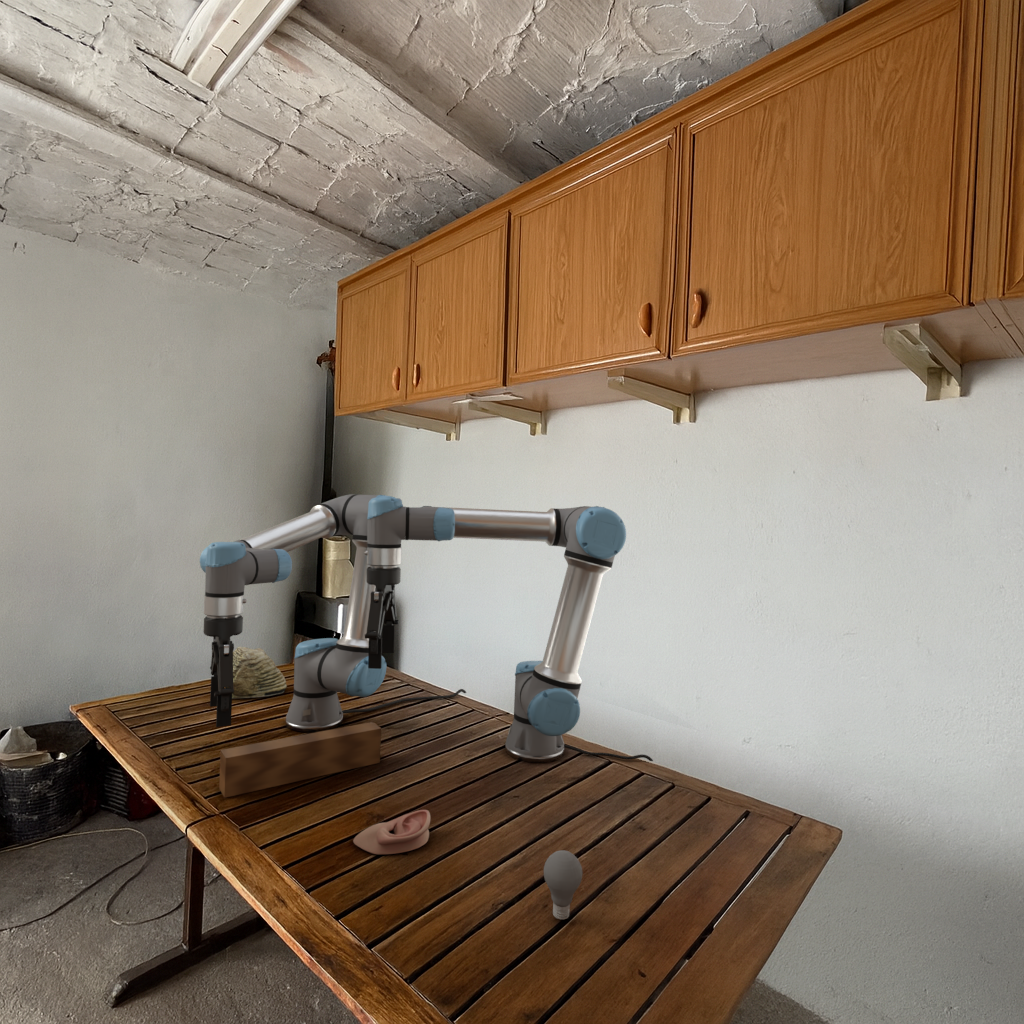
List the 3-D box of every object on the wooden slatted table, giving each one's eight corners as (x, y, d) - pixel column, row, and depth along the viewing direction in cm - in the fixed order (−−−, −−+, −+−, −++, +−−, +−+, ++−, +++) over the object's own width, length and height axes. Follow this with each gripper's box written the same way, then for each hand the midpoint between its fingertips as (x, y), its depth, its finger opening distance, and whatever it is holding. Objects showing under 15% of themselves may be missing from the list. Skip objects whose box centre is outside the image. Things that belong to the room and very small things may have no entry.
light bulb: (539, 904, 101) (542, 842, 101) (576, 904, 101) (579, 842, 101) (544, 930, 95) (547, 864, 95) (583, 929, 95) (586, 864, 95)
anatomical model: (346, 827, 114) (372, 798, 125) (345, 849, 114) (372, 818, 125) (416, 839, 111) (436, 808, 122) (415, 861, 111) (436, 828, 123)
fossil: (218, 695, 195) (220, 647, 195) (278, 685, 208) (279, 640, 207) (228, 703, 189) (230, 653, 188) (289, 692, 201) (290, 645, 201)
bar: (224, 797, 131) (225, 758, 131) (219, 788, 135) (220, 749, 135) (380, 762, 152) (381, 728, 152) (371, 755, 156) (372, 721, 156)
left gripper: (251, 625, 125) (247, 732, 125) (235, 604, 146) (232, 696, 147) (209, 628, 121) (205, 738, 121) (199, 606, 143) (196, 700, 143)
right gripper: (379, 560, 155) (378, 646, 155) (352, 572, 130) (350, 674, 130) (410, 561, 155) (408, 647, 155) (388, 573, 130) (386, 676, 130)
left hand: (220, 715), depth 134 cm, fingers open, 13 cm apart
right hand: (381, 660), depth 143 cm, fingers open, 13 cm apart
